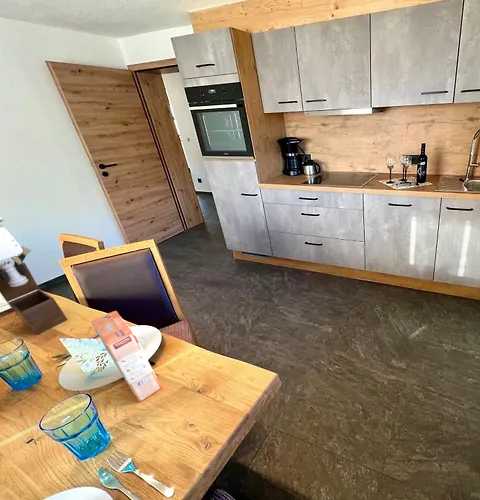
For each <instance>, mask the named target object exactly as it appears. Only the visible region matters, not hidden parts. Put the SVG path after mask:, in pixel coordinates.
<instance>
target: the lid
mask: <svg viewBox="0 0 480 500" xmlns="http://www.w3.org/2000/svg"><path fill="white" fill-rule="evenodd" d="M11 263H14V261H13V262H12V261H11ZM22 264H23V266H24V267H25V269H26V270H27V271H26V272H25V273H26V275H25V277H26V279H28V282H27V283H25V284H23V285H21V286H18V287H11V286H9V285H10V284H8V282H5V281H4V280H2V281H1V280H0V294H1V296H2V297H3V299H4V300H5V302H7V303H8V302H10V301H12V300H15V299H17V298H20V297H22V296H25V295H27V294H29V293H32V292H34V291H37V290H39V289H40V287H39V286H38V283H37V282H36V280H35V278H34V277H33V275H32V273H31V271H30V270H29V268H28V266H27V265H26V262H23V263H22ZM14 267H15V265H14ZM15 268H16V267H15ZM0 270H1V271H3V273H4V274H5V275H6V277H7V278H8V276H7V274H6V273H5V272H4V270H3V269H1V268H0ZM16 270H17V268H16ZM17 271H18V270H17ZM18 272H19V271H18ZM19 273H20V272H19ZM21 275H22V274H21Z"/></svg>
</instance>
